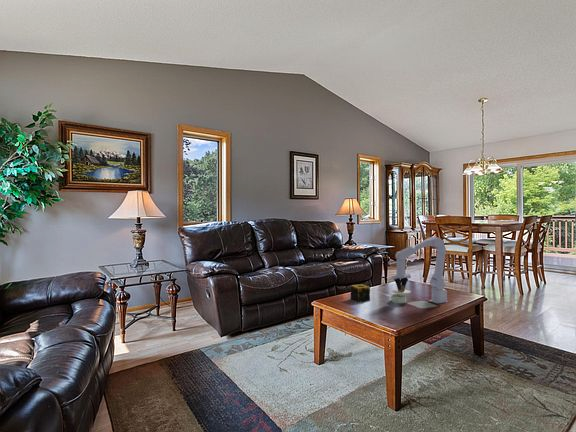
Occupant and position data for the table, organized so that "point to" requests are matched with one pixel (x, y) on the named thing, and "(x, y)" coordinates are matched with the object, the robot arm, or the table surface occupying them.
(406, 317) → the table surface
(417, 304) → the mat
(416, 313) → the table surface
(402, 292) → the lid
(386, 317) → the table surface
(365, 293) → the candle
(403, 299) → the bowl
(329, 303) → the table surface
